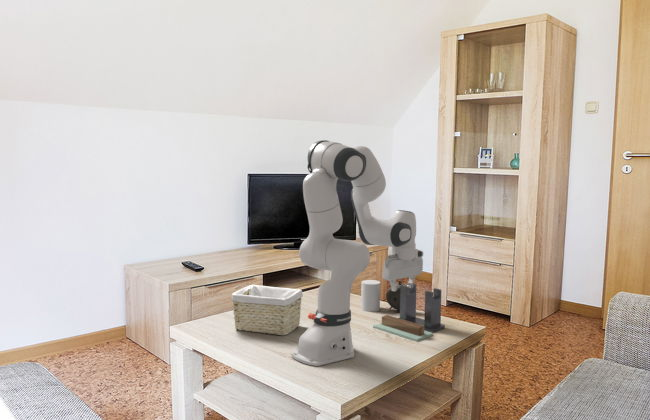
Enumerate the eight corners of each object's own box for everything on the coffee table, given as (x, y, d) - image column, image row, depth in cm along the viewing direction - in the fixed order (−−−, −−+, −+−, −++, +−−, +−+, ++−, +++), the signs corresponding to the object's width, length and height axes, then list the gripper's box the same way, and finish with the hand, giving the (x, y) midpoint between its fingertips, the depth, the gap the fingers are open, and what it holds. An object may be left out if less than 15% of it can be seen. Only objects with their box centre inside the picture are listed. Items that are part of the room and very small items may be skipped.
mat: (416, 341, 193) (416, 339, 193) (373, 327, 208) (373, 325, 208) (432, 335, 200) (433, 333, 200) (389, 322, 215) (389, 320, 215)
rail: (418, 336, 197) (419, 327, 196) (381, 324, 210) (381, 316, 209) (424, 334, 199) (424, 325, 199) (386, 322, 212) (387, 315, 212)
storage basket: (230, 330, 205) (229, 293, 204) (250, 318, 220) (250, 283, 219) (286, 338, 197) (286, 299, 195) (304, 325, 212) (304, 288, 210)
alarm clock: (413, 311, 230) (413, 274, 228) (409, 315, 225) (410, 277, 223) (388, 308, 234) (389, 272, 233) (384, 311, 230) (385, 274, 228)
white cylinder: (382, 308, 235) (383, 281, 233) (374, 312, 228) (374, 285, 227) (366, 305, 239) (366, 279, 238) (357, 309, 232) (358, 282, 231)
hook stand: (432, 332, 203) (433, 293, 201) (395, 321, 216) (396, 285, 214) (444, 328, 208) (445, 290, 206) (407, 317, 221) (408, 281, 219)
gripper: (392, 256, 192) (391, 294, 193) (426, 251, 206) (424, 287, 207) (379, 254, 196) (377, 291, 197) (412, 249, 210) (411, 284, 211)
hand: (402, 289), depth 202 cm, fingers open, 8 cm apart
